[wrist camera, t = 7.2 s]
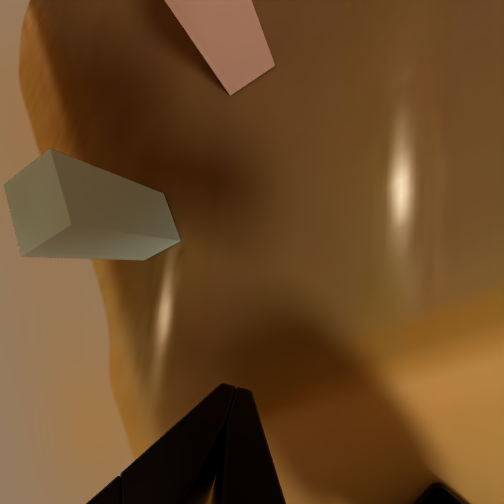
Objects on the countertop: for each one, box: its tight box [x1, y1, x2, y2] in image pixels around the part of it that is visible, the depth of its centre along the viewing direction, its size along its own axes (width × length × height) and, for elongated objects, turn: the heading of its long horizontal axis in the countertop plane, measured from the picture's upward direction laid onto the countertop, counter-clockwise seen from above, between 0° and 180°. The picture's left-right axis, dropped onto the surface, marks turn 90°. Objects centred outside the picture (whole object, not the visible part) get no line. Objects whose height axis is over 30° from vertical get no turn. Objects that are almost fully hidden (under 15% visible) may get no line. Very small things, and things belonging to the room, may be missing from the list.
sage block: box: [4, 149, 181, 260], centre depth 19 cm, size 4×4×10 cm
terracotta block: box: [165, 0, 275, 96], centre depth 17 cm, size 4×4×10 cm
